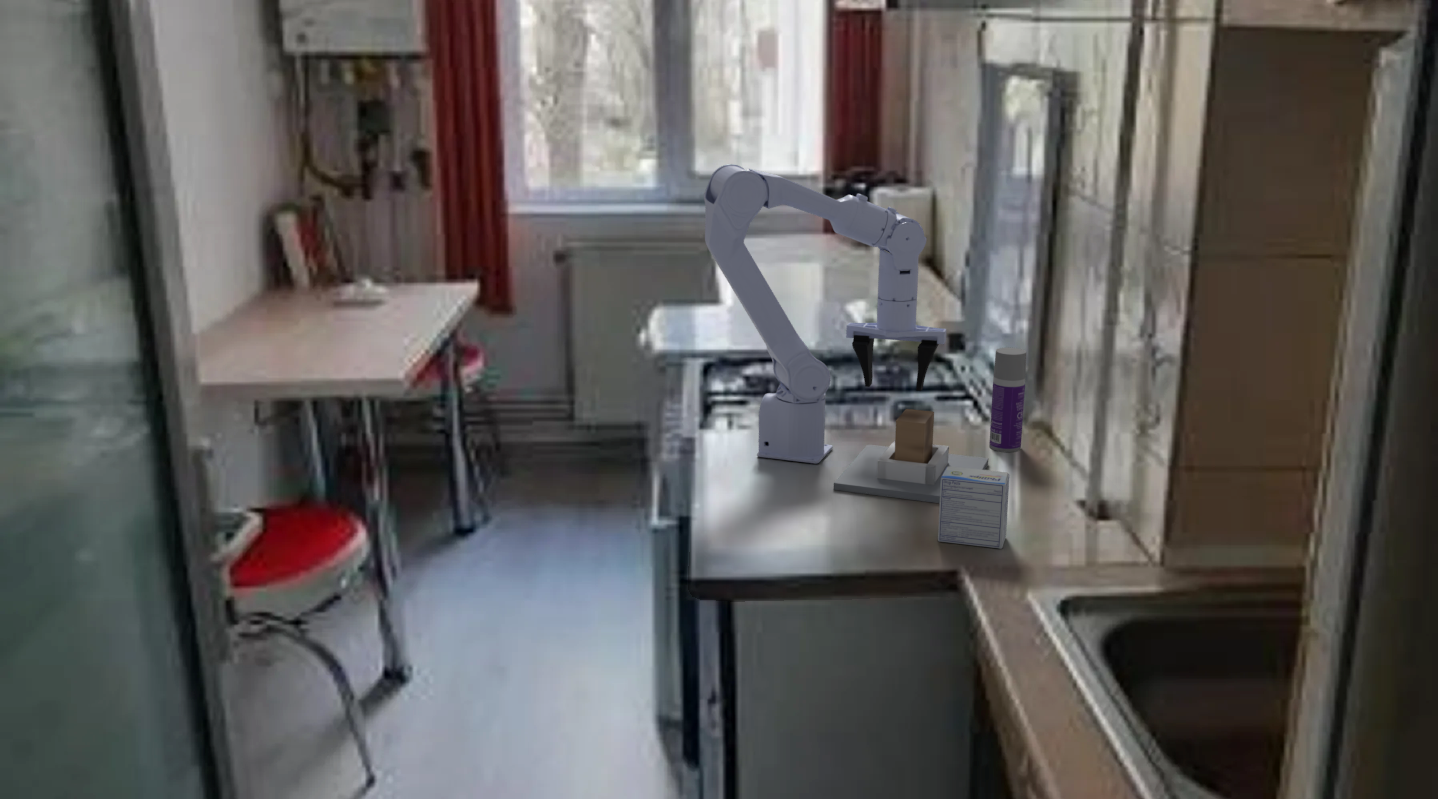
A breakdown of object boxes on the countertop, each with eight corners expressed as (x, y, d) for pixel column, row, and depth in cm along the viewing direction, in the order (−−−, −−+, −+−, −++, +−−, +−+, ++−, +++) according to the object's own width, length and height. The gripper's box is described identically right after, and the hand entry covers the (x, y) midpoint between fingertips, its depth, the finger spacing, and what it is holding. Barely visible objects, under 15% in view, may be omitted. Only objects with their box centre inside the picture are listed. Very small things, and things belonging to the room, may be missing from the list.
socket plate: (833, 489, 174) (834, 465, 173) (867, 450, 190) (868, 428, 189) (964, 506, 168) (965, 481, 167) (988, 464, 184) (989, 441, 183)
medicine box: (1006, 537, 158) (1010, 471, 156) (1002, 550, 154) (1006, 483, 152) (943, 529, 160) (946, 464, 158) (937, 542, 156) (940, 476, 154)
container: (1021, 453, 189) (1027, 355, 185) (989, 451, 190) (994, 354, 186) (1020, 443, 194) (1026, 347, 189) (989, 441, 195) (994, 346, 190)
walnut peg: (904, 462, 182) (906, 408, 180) (931, 465, 181) (934, 411, 179) (893, 475, 177) (896, 420, 175) (922, 478, 176) (924, 423, 173)
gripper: (842, 300, 184) (840, 390, 188) (943, 306, 180) (938, 398, 184) (852, 290, 191) (850, 378, 194) (950, 296, 186) (945, 385, 190)
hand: (893, 387), depth 189 cm, fingers open, 7 cm apart
